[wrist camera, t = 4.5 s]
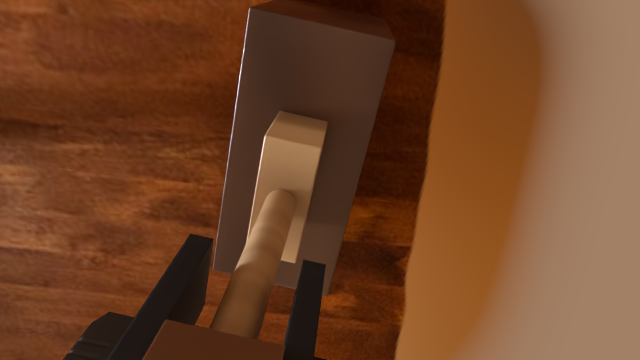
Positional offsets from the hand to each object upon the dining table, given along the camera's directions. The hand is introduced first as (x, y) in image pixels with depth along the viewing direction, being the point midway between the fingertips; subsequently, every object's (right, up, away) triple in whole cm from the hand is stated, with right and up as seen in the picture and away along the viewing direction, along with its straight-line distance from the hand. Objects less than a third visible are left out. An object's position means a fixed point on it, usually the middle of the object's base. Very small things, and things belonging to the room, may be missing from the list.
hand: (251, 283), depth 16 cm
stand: (+2, +9, +20) cm, 22 cm away
